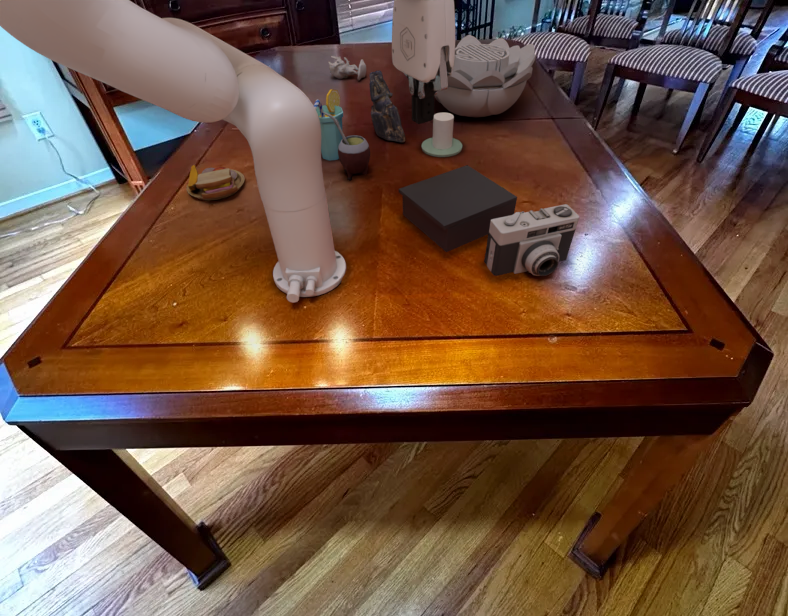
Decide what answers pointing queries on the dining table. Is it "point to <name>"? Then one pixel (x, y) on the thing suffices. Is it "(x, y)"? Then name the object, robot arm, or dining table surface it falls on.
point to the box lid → (456, 196)
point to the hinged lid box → (459, 232)
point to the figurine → (346, 68)
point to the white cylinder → (442, 130)
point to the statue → (384, 110)
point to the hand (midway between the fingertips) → (422, 120)
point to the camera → (530, 241)
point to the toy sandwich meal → (214, 183)
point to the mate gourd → (352, 152)
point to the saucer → (432, 151)
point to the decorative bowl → (486, 77)
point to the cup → (330, 124)
